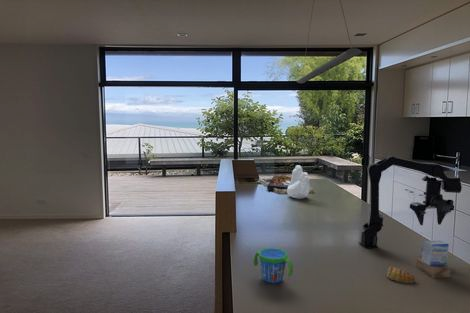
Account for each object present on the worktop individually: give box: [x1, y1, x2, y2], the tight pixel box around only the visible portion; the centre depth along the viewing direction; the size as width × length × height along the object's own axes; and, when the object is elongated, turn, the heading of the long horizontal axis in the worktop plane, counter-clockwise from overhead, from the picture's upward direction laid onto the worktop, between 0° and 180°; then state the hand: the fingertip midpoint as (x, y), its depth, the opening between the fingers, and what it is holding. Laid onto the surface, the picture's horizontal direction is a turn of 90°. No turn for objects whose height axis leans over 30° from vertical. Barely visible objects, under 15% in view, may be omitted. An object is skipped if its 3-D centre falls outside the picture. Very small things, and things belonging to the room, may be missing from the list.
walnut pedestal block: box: [416, 257, 452, 279], centre depth 138 cm, size 7×10×4 cm
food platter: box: [266, 174, 292, 192], centre depth 305 cm, size 45×25×10 cm, turn 167°
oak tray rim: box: [258, 178, 315, 195], centre depth 305 cm, size 32×52×3 cm, turn 12°
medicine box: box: [421, 240, 449, 266], centre depth 137 cm, size 8×4×9 cm, turn 102°
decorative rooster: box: [287, 164, 311, 200], centre depth 260 cm, size 25×16×25 cm, turn 2°
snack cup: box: [253, 247, 294, 284], centre depth 127 cm, size 16×10×10 cm
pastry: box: [386, 266, 416, 284], centre depth 131 cm, size 9×7×4 cm
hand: (430, 224), depth 157 cm, fingers open, 9 cm apart
